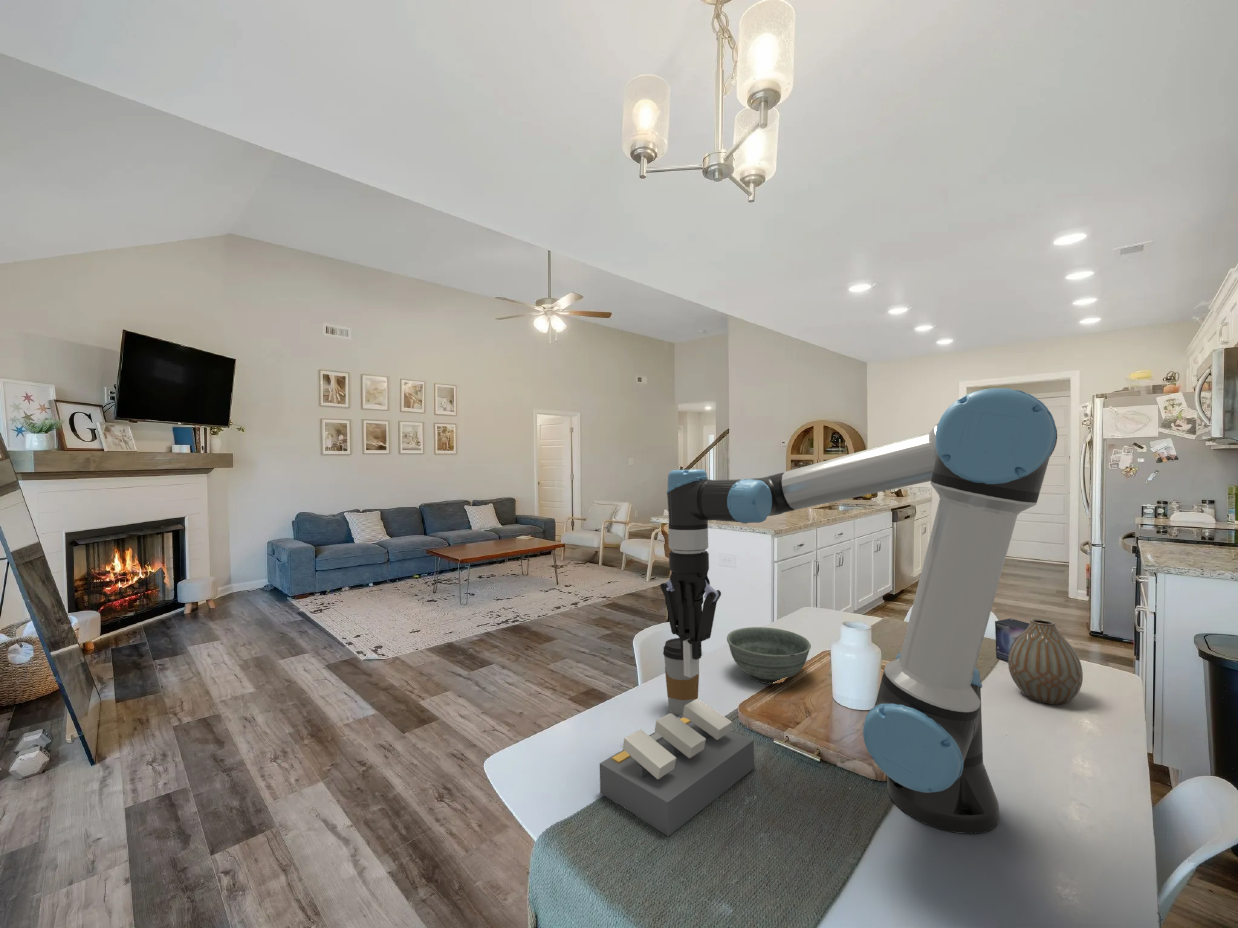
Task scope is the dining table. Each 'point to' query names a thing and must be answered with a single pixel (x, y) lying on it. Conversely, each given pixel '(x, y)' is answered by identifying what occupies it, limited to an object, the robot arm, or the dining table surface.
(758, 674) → the bowl
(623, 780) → the switch unit
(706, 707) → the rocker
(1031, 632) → the vase
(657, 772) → the rocker
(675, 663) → the coffee cup
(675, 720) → the rocker
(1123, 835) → the dining table surface
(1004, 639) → the small box
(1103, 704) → the dining table surface
